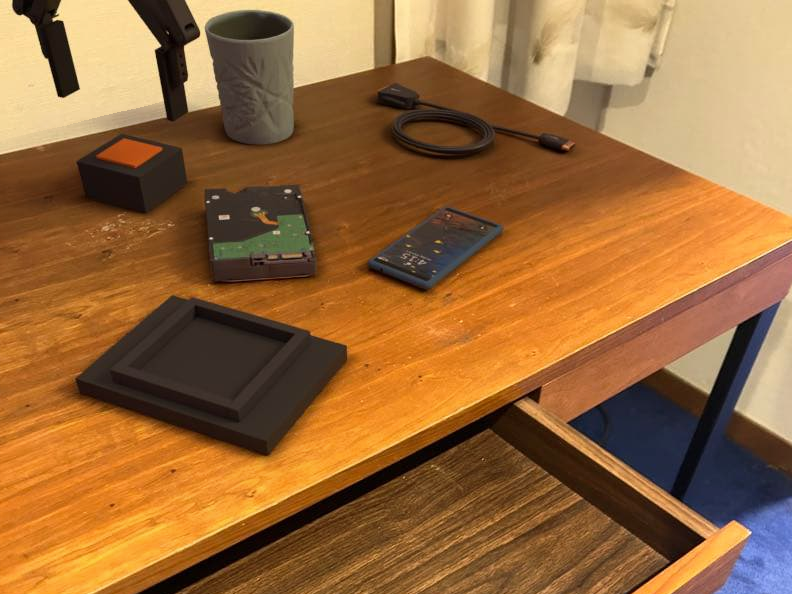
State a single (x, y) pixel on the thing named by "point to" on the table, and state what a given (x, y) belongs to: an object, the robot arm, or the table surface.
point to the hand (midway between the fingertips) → (122, 104)
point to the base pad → (216, 372)
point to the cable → (409, 100)
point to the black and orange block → (132, 172)
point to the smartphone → (435, 247)
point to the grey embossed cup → (254, 74)
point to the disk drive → (258, 233)
